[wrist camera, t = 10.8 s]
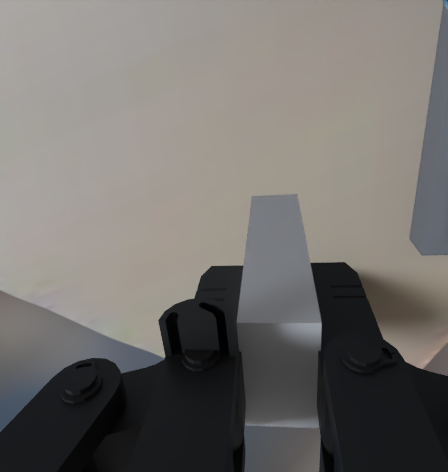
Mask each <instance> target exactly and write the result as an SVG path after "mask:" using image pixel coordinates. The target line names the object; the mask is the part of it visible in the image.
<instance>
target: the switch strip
mask: <svg viewBox="0 0 448 472" xmlns="http://www.w3.org/2000/svg"><path fill="white" fill-rule="evenodd" d="M410 240H411V242H412V243H413V244H414V246H415V247H416V248H417V250H418V251H419V252H420V254H421V255H448V10H447V8H446V7H445V5H444V4H443V10H442V17H441V24H440V31H439V38H438V45H437V52H436V59H435V66H434V73H433V80H432V86H431V93H430V100H429V107H428V114H427V121H426V128H425V135H424V142H423V149H422V156H421V163H420V169H419V176H418V183H417V190H416V197H415V204H414V211H413V218H412V225H411V232H410Z"/></svg>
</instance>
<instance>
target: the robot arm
mask: <svg viewBox="0 0 448 472" xmlns="http://www.w3.org/2000/svg"><path fill="white" fill-rule="evenodd" d="M443 4H444V5H445V7H446V8H447V10H448V0H443ZM158 321H159V326H160V331H161V336H162V341H163V346H164V351H165V355H166V356H165V359H164V360H163V361H161V362H159V363H157V364H156V365H152V366H149V367H146V368H143V369H139V370H134V371H130V372H126V373H122V374H121V372H120V370H119V369H118V367H117V366H116V364H115V363H113V362H111V361H109V360H107V359H102V358H91V359H86V360H82V361H79V362H76V363H74V364H72V365H70V366H68V367H66V368H64V369H63V370H62V371H60V372H59V373H58V374H57V375H55V376H54V377H53V378H52V379H51V380H50V381H49V382H48V383H47V384H46V385H45V386H44V387H43V388H42V389H41V390H40V392H39V393H38V394H37V395H36V396H35V397H34V398H33V399H32V400H31V401H30V402H29V403H28V404H27V405H26V406H25V407H24V408H23V409H22V410H21V411H20V412H19V413H18V414H17V416H16V417H15V418H14V419H13V420H12V421H11V422H10V423H9V424H8V425H7V426H6V427H5V428H4V429H3V430H2V431H1V432H0V472H244V468H245V441H244V426H245V423H246V425H252V426H276V427H302V428H318V419H319V426H320V434H321V447H320V470H319V472H448V376H445V375H441V374H437V373H433V372H429V371H426V370H423V369H420V368H417V367H415V366H413V365H411V364H409V363H407V362H405V361H404V359H403V357H402V356H401V355H400V353H399V352H398V350H397V349H396V348H395V347H393V346H392V345H391V344H389V343H388V342H386V341H385V340H383V337H382V335H381V332H380V330H379V327H378V325H377V322H376V319H375V317H374V314H373V312H372V309H371V307H370V304H369V302H368V299H367V298H366V294H365V291H364V289H363V288H362V284H361V281H360V279H359V276H358V274H357V272H356V271H355V270H353V269H352V268H351V267H350V266H349V265H347V264H346V263H345V262H337V263H310V259H309V253H308V248H307V243H306V238H305V232H304V227H303V222H302V216H301V211H300V206H299V201H298V195H297V194H293V195H270V196H252V200H251V209H250V217H249V225H248V233H247V241H246V250H245V258H244V266H211V267H210V268H209V269H208V270H207V271H206V272H205V273H204V274H203V275H202V276H201V279H200V282H199V285H198V291H197V292H196V295H195V298H194V299H189V300H186V301H183V302H180V303H177V304H175V305H173V306H172V307H171V308H169V309H168V310H166V311H165V312H164V313H163V315H162V316H161V318H160V319H159V320H158Z"/></svg>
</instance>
